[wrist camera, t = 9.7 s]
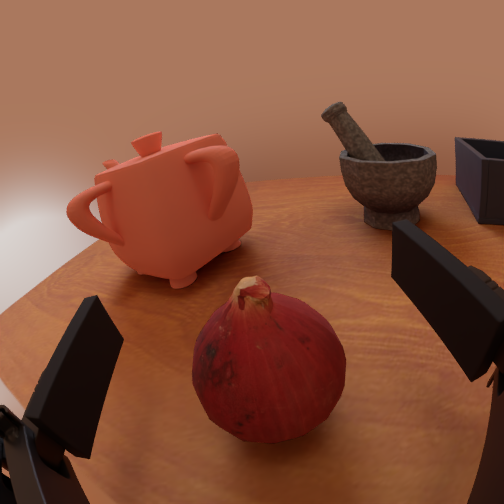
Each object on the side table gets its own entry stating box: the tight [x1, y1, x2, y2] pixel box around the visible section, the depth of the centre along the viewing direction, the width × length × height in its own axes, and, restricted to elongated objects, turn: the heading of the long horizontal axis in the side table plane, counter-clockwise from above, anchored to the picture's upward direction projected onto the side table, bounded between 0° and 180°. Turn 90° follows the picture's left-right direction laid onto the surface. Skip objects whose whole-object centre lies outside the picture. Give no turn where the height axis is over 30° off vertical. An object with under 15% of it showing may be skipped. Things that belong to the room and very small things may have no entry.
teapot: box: [67, 131, 253, 289], centre depth 27 cm, size 17×16×13 cm
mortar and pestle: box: [321, 102, 437, 230], centre depth 24 cm, size 11×9×12 cm
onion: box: [192, 275, 346, 443], centre depth 10 cm, size 6×6×8 cm
